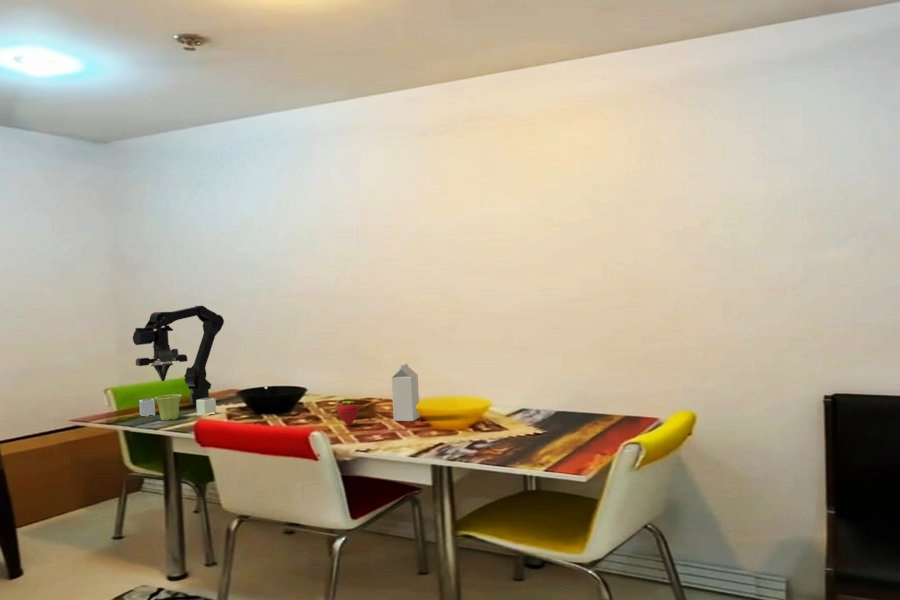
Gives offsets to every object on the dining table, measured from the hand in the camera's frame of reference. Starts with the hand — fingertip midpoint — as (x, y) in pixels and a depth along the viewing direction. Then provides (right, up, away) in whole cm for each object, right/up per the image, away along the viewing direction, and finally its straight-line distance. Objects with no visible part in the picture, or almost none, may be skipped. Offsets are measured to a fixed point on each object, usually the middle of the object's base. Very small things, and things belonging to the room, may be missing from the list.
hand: (163, 381), depth 276 cm
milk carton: (+102, -8, -42) cm, 110 cm away
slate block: (-2, -12, -9) cm, 15 cm away
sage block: (+23, -11, -14) cm, 29 cm away
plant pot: (+11, -12, -20) cm, 26 cm away
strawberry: (+83, -9, -48) cm, 96 cm away
